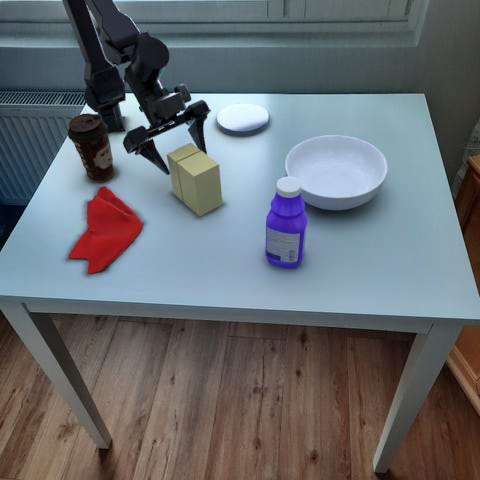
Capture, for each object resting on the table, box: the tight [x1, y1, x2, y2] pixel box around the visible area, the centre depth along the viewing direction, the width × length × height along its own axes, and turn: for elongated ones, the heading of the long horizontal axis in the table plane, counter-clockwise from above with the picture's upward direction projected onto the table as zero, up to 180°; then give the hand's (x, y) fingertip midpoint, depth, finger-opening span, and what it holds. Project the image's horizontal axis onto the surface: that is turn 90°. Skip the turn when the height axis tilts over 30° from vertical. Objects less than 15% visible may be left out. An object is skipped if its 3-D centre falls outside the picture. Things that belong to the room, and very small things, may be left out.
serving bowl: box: [284, 134, 389, 211], centre depth 99 cm, size 21×21×7 cm
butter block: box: [177, 151, 224, 217], centre depth 97 cm, size 6×6×10 cm
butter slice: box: [166, 142, 200, 202], centre depth 99 cm, size 4×6×10 cm, turn 128°
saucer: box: [216, 102, 270, 138], centre depth 119 cm, size 13×13×2 cm
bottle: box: [264, 176, 308, 269], centre depth 83 cm, size 7×6×17 cm
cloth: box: [67, 185, 144, 275], centre depth 96 cm, size 26×14×2 cm, turn 177°
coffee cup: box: [67, 112, 116, 183], centre depth 103 cm, size 9×8×13 cm
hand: (187, 165), depth 97 cm, fingers open, 9 cm apart
